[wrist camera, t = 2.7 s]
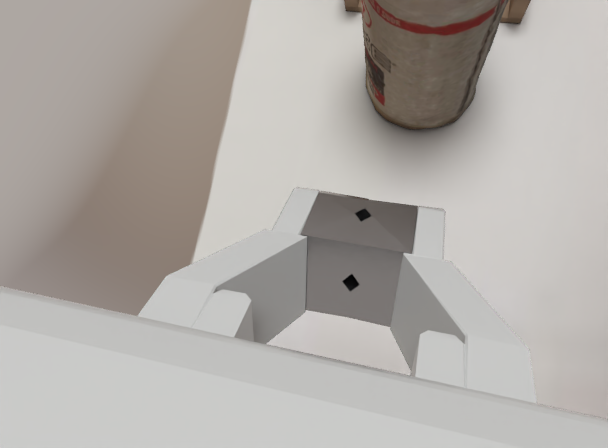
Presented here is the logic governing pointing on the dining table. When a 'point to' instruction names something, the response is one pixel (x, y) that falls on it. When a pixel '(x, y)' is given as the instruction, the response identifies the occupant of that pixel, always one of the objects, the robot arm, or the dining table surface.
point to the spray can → (426, 56)
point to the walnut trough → (511, 15)
